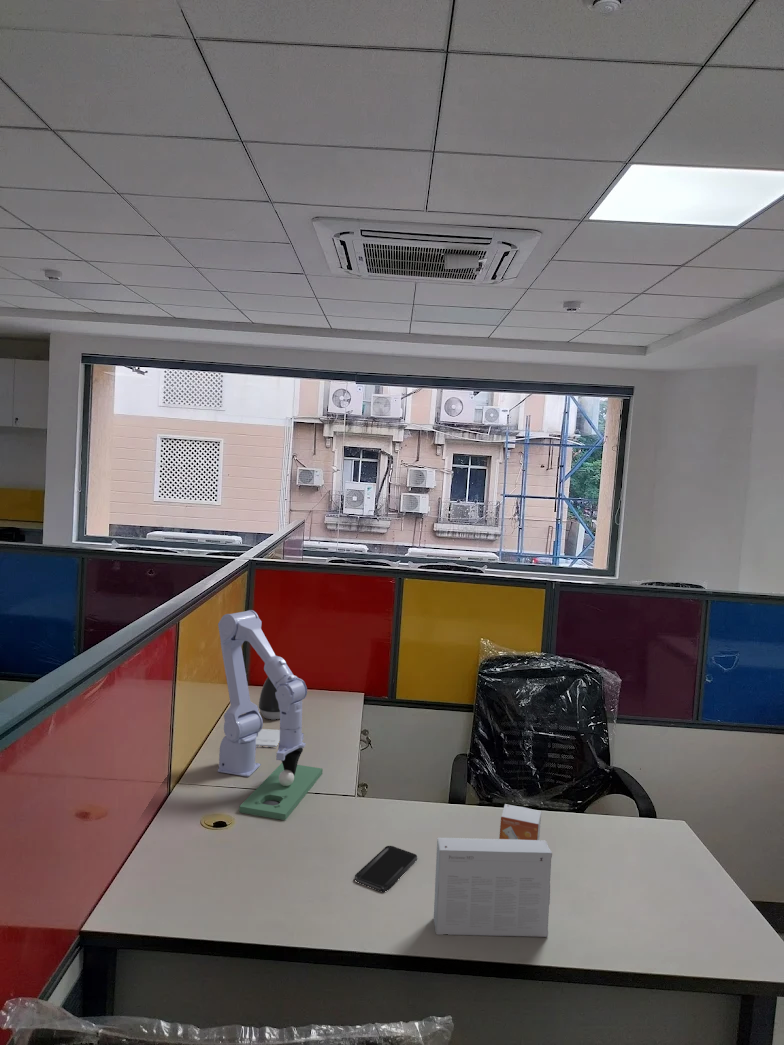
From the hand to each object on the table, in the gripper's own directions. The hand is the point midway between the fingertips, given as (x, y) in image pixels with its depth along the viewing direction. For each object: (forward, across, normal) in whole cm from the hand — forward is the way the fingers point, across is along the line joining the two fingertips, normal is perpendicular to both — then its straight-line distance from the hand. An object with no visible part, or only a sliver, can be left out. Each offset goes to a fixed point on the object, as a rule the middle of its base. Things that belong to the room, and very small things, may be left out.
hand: (289, 776), depth 176 cm
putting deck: (+3, -2, +1) cm, 4 cm away
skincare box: (+5, -40, -56) cm, 69 cm away
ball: (0, -2, 0) cm, 2 cm away
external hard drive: (+3, +28, +18) cm, 34 cm away
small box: (+5, -20, -60) cm, 64 cm away
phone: (+5, -28, -33) cm, 44 cm away
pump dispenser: (+3, +48, +24) cm, 53 cm away
